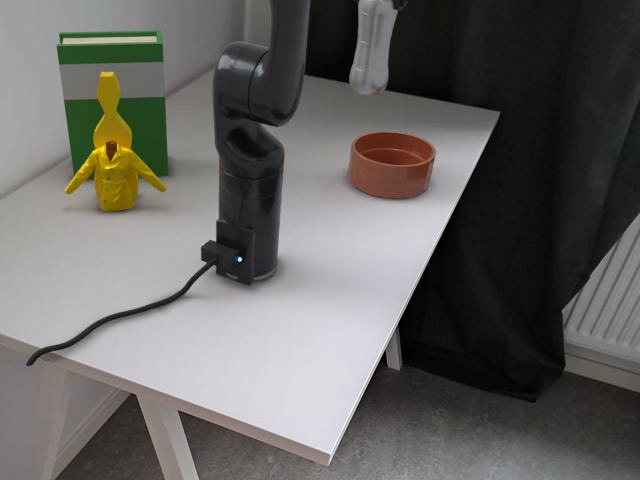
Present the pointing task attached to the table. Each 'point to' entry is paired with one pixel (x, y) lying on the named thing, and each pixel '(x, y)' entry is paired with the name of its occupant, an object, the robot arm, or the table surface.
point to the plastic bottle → (372, 46)
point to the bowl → (391, 164)
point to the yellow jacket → (113, 155)
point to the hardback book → (135, 97)
